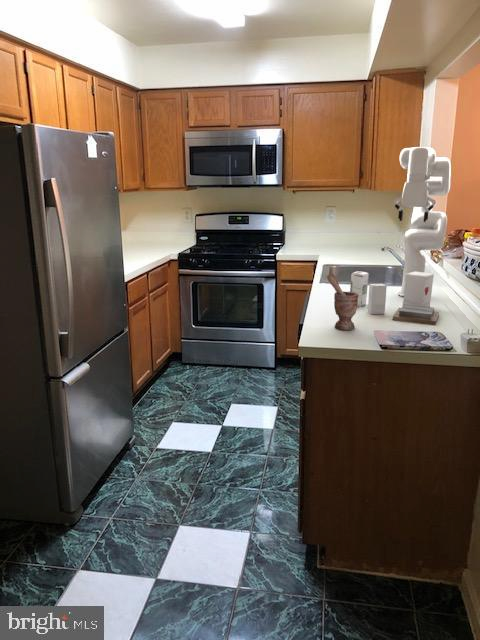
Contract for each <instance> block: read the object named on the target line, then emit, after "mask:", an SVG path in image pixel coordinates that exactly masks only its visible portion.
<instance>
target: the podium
mask: <svg viewBox="0 0 480 640" xmlns="http://www.w3.org/2000/svg"><path fill="white" fill-rule="evenodd" d="M439 316H440V311H435V307H431V306H430V307H423V306H413V305H403V304H402V306H401V307H398V308H397V310H396V311H395V313H394V314H393V315H392V321H399V322H405V323H407V322H408V323H415V324H416V323H417V324H425V325H433V326H436V325H437V322H438V319H439Z"/></svg>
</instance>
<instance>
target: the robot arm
mask: <svg viewBox="0 0 480 640" xmlns="http://www.w3.org/2000/svg"><path fill="white" fill-rule="evenodd" d="M399 163H400V166H401V168H403V169H404V170H407V178H406V181H405V182H404V186H403V190H402V195H401V196H400V197H398V198H396V199H393V200H392V202H393V205H394V208H395V209H397V211H398V216H397V217H398V219H399V222H402V221H403V216H404V211H403V210H404V209H405V207H406V208H413V211H412V216H411V221H410V222H411V223H410V227H411V229H410V228H409V230H407V231H406V232H405V233H404V238H403V239H404V240H403V241H404V261H403V272H402V282H401V290H399V291H398V292H397V295H398V296H399V295H400V297H402V296H404V288H405V278H406V274H407V273H411V272H423V273H425V270H426V262H427V261H426V256H425V255H424V253H423V252H422V251H433V252H434V251H436V252H437V251H440V250H442V249H443V247H444V244H445V239H446V234H447V233H446V232H447V227H448V217H447V214H446V213H445V212H443V211H433V209H434V207H435V206H436V204H437V203H438V202H437V200H435V199H433V198H431V196H433V197H434V196H436V197H437V196H440V197H442V196H446V195H448V194H449V192H450V189H451V174H452V173H451V171H452V168H451V161H450V159H449V157H442V156H441V157H437V154H436V151H435V149H433V148H432V147H425V146H415V147H414V146H413V147H405V148H403V149H402V150H401V151H400V154H399ZM400 201H401V206H400V205H399V204H398V202H400Z"/></svg>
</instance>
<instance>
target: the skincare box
mask: <svg viewBox="0 0 480 640" xmlns="http://www.w3.org/2000/svg"><path fill="white" fill-rule="evenodd" d="M368 285H369V287H368V303H367V312H368V313H369V314H370V315H385V312H386V298H387V288H388V287H387V284H385V283H368Z"/></svg>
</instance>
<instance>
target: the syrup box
mask: <svg viewBox="0 0 480 640" xmlns="http://www.w3.org/2000/svg"><path fill="white" fill-rule="evenodd" d="M350 277H351V278H350V285H349V287H350V288H349V292H354V293H357V294H358V305H357V307H359V308H361V307H364V306H365V305H366V304H367V295H368V285H369V272H366V271H354V272H352V273H351V275H350Z"/></svg>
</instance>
